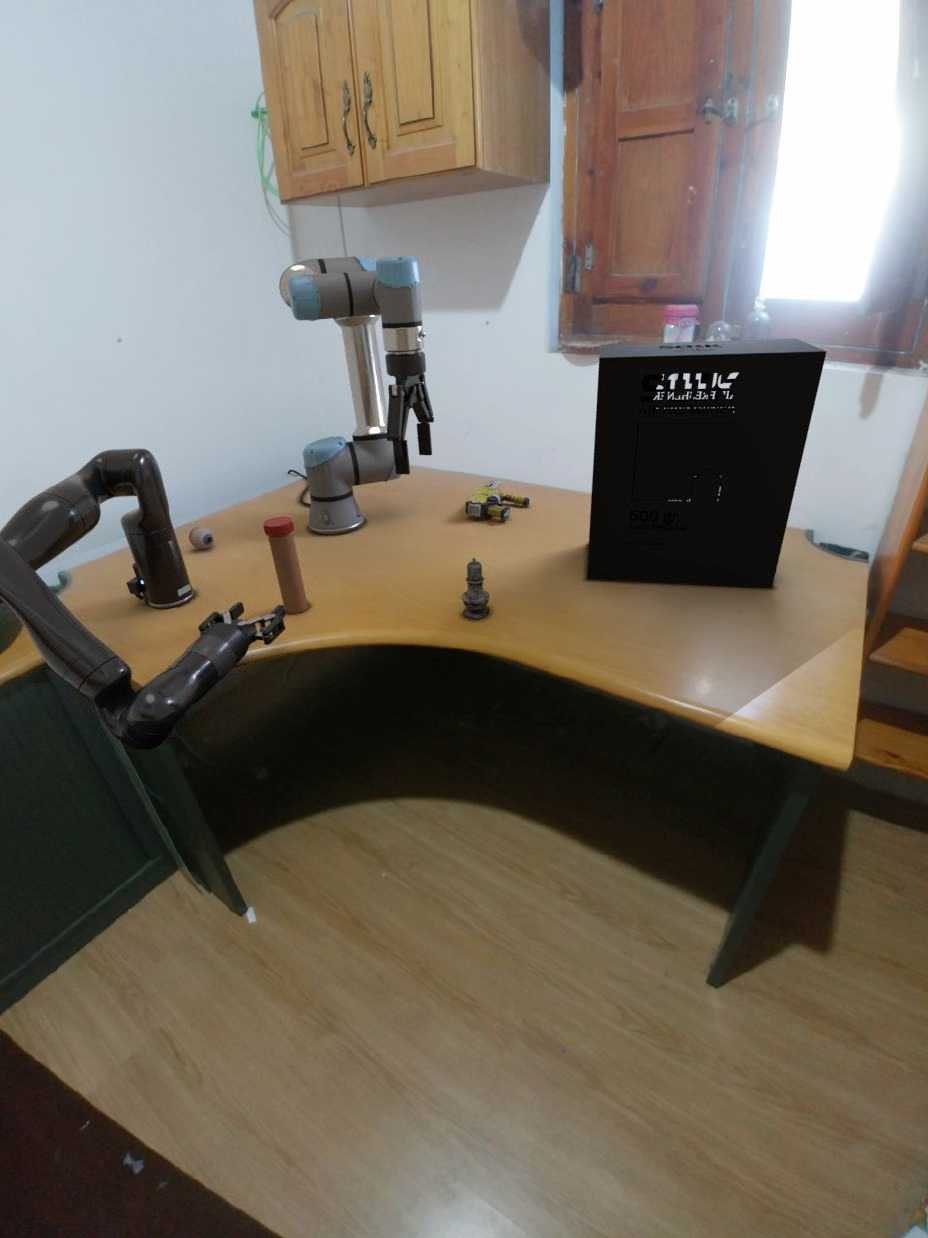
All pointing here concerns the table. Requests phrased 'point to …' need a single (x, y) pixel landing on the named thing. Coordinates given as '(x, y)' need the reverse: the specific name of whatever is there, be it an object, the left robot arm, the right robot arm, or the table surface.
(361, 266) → the right robot arm
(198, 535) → the eyeball
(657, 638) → the table surface
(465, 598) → the dark grey tiered figure
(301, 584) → the jar
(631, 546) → the cardboard box
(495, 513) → the toy gun
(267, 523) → the lid
